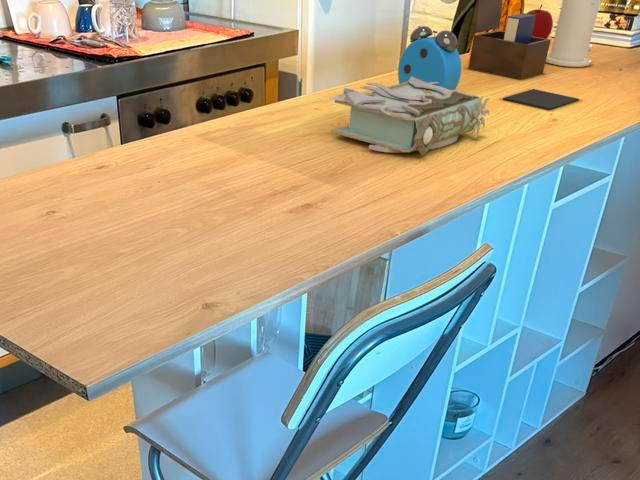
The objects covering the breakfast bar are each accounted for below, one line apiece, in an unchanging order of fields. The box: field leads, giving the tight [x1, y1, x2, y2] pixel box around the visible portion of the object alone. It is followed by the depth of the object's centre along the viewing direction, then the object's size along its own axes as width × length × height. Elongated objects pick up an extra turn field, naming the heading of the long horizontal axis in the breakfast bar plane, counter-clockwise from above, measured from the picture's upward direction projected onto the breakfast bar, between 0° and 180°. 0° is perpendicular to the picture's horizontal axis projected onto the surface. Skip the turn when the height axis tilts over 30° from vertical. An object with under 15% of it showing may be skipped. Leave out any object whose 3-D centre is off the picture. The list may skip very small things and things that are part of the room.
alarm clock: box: [397, 25, 462, 90], centre depth 178 cm, size 13×6×15 cm, turn 43°
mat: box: [502, 88, 580, 111], centre depth 190 cm, size 14×12×1 cm
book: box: [503, 12, 536, 44], centre depth 208 cm, size 8×4×12 cm, turn 136°
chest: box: [467, 29, 552, 81], centre depth 211 cm, size 16×12×8 cm
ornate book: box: [327, 76, 491, 157], centre depth 160 cm, size 23×10×30 cm
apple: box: [526, 4, 554, 39], centre depth 243 cm, size 9×9×10 cm
